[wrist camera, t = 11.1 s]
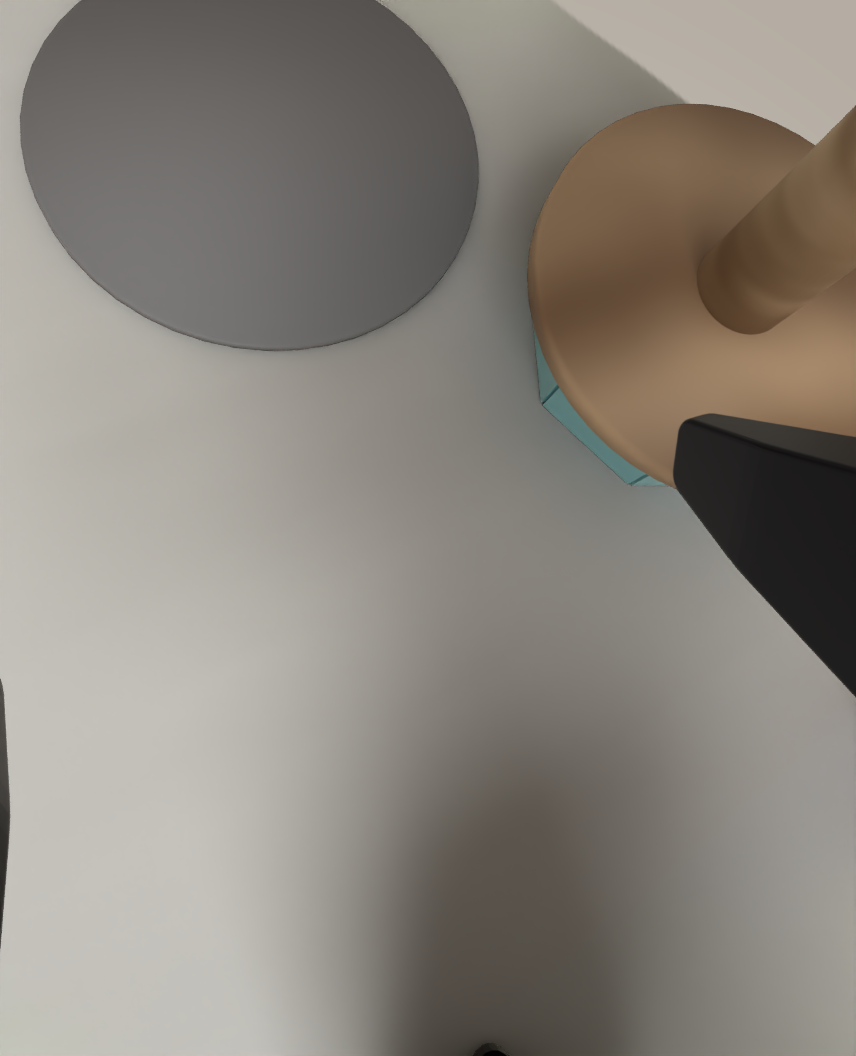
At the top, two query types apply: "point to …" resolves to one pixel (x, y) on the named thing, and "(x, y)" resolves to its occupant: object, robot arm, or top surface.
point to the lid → (700, 278)
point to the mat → (250, 163)
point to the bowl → (584, 426)
